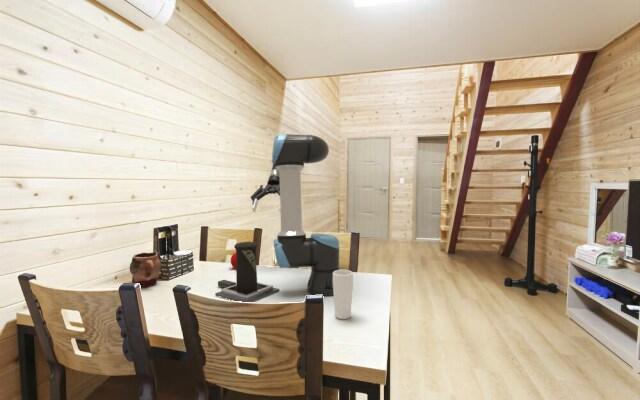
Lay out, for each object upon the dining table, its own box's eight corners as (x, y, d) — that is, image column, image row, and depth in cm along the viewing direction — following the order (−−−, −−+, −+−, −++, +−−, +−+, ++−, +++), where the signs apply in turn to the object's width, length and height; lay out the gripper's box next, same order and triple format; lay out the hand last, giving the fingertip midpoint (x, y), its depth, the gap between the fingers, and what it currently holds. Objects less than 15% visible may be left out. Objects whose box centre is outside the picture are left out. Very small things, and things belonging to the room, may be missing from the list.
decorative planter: (170, 286, 141) (169, 255, 140) (140, 294, 132) (139, 260, 131) (151, 278, 154) (150, 249, 153) (123, 284, 145) (121, 253, 144)
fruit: (238, 265, 177) (238, 247, 177) (251, 267, 173) (251, 248, 173) (226, 269, 169) (226, 250, 168) (240, 271, 165) (240, 251, 164)
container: (252, 295, 126) (251, 244, 125) (231, 293, 128) (230, 244, 127) (261, 288, 134) (260, 240, 133) (241, 287, 136) (240, 240, 135)
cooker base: (279, 291, 133) (279, 285, 133) (246, 305, 119) (245, 298, 118) (237, 281, 148) (237, 275, 148) (203, 291, 134) (203, 286, 133)
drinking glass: (357, 316, 108) (357, 271, 107) (344, 322, 103) (344, 276, 102) (341, 311, 112) (340, 268, 111) (328, 317, 107) (328, 272, 106)
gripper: (299, 184, 172) (293, 215, 158) (255, 184, 176) (245, 214, 162) (297, 174, 166) (289, 205, 152) (251, 175, 171) (240, 205, 157)
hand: (266, 210), depth 157 cm, fingers open, 13 cm apart
